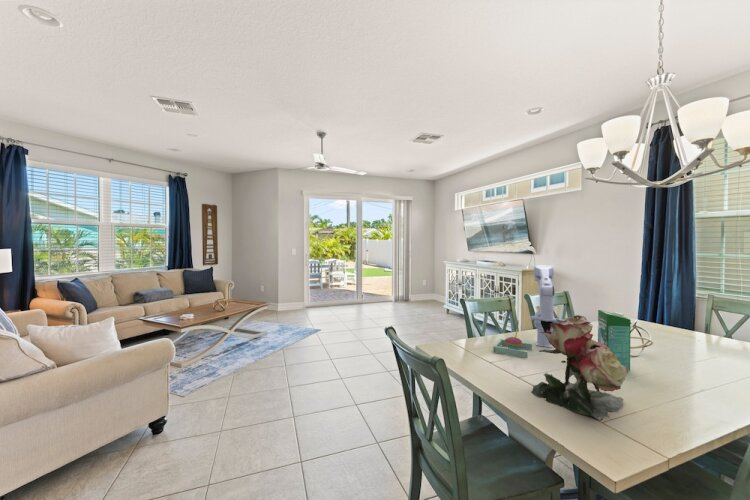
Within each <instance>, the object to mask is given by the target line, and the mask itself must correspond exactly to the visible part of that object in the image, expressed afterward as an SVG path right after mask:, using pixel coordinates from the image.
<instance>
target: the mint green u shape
mask: <svg viewBox="0 0 750 500" xmlns="http://www.w3.org/2000/svg"><path fill="white" fill-rule="evenodd" d="M504 342H505V339H503V338H500V339H499V340H498V341H497V342H496V343H495V344H494V345H493V353H495V352H497V353H496V354H500V353H502V354H501V355H506V354H507V355H508V356H511V357H513V356H514V357H518V358H525V359H528V351H527V350H529V349H530V351H532V350H533V343H530V342H523V341H522V346H520V348H519V350H515V349H509V348H508V347H507V345H506V344H505V343H504ZM501 345H502V346H501ZM504 345H506V347H504ZM500 346H501V347H500ZM523 348H525V349H524V350H520V349H523ZM507 355H506V356H507Z"/></svg>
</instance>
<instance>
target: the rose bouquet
mask: <svg viewBox="0 0 750 500" xmlns="http://www.w3.org/2000/svg"><path fill="white" fill-rule="evenodd" d="M559 319H560V318H558V319H556V320H557V321H558V322H560V323H551V327H552V332H551V331H548V330H547V332H546V333H545V332H541V333H543V334H545V336H546V337H547V339H548V341H549V343H550V344H551V345H552V348H553V349H548V348H545V349H541V350H538V352H539V353H549V354H553V355H554V354H555V355H557V354H562V355H564V356H565V357H566V360H564V359H563V360H561V361H560V362H561V363H563V364H565V363H566V366H565V372H564V374H565V375H564V380H565V381H564V382H562V381H561V380H560V378H557V377H555V376H554V375H553V374H551V373H550V374H549V373H547V372H545V373H543V376H544V377H545V381H546V382H544V381H541V382H539V383H538V384H535V385H533V386H532V390H531V394H533V395H534V396H535V397H537V398H539V399H545V401H546V402H547V403H551V404H554V405H556V406H559V407H561V408H562V407H563V408H567V409H569V410H570V411H573V412H575V413H577V414H580V415H583V416H587V417H593V418H594V419H596V420H599V421H602V420H604V419H605V418H608V419H610V416H609V413H608V412H619V411H620V410H621V409H622V406H623V404H624V403H623V402H624V398H623V397H621V396H616V395H613V394H611V393H607V392H614V391H618V390H620V389H622V388H621V387H622V385H623V383H624V381H625V380H626V376H627V373H628V372H629V371H628V369H627V368H626V367H624V366H622V365H621V364H620V362H619V361H617V357H616V356H615V354H614V353H613V352H612V351H610V349H609V348H608V347H606V344H603V343H600V342H598V341H596V340H594V339H592V338H593V336H594V334H593V333H591V332H592V330H593V327H594V325H593V324H592V322H591V321H589V320H588V319H587V317H586V316H584V315H580V314H576V315H574V316H570V317H569V316H568V317H565V318H564V321H560V320H559ZM572 376H573V377H575V379H576V381H575V382H573V383H572V382H570V378H571V377H572ZM588 383H589V384H592V385H593V386H594V389H595V390H593V389H592V390H591V389H589V388H588ZM603 391H604V392H603Z"/></svg>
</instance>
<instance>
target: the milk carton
mask: <svg viewBox="0 0 750 500" xmlns="http://www.w3.org/2000/svg"><path fill="white" fill-rule="evenodd" d="M624 315H625V314H624V313H622V312H617V311H613V312H610V311H605V310H601V309H598V311H597V342H600V343H603V344H606V347H608V348H609V349H610V351H612V352H613V353H614V354H615V356H616V357H617V361H619V362H620V364H621V365H622V366H624V367H626V368H627V369H628V371H627V372H631V328H632V327H631V322H632V321H631V319H630V318H627V317H625V316H624Z"/></svg>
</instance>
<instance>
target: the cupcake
mask: <svg viewBox="0 0 750 500" xmlns="http://www.w3.org/2000/svg"><path fill="white" fill-rule="evenodd" d="M518 329H519V328H518V327H517V328H516V329H515V335H514V336H510V337H507V338H505V339H504V340H505V342H504V343H505V344H506V345H507V346H506V348H509V349H515V350H520V349H521V348H520V346H522V342H523V341H522V340H521V339H520V338H518V332H519V331H518Z"/></svg>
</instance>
